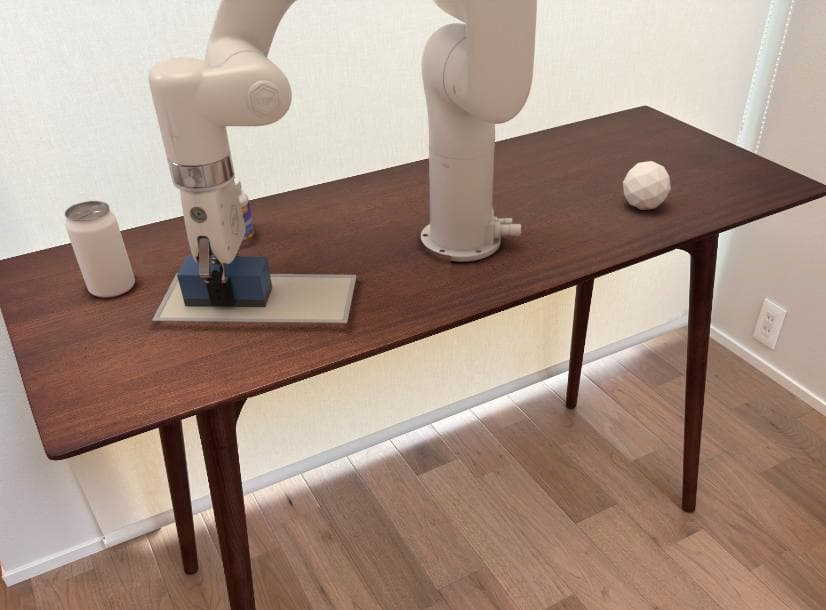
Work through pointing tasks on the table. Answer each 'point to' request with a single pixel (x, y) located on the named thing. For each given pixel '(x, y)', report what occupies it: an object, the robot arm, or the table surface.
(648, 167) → the geometric ball
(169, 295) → the whiteboard
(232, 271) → the eraser
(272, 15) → the robot arm
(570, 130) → the table surface
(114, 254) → the can
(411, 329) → the table surface
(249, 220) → the pill bottle
